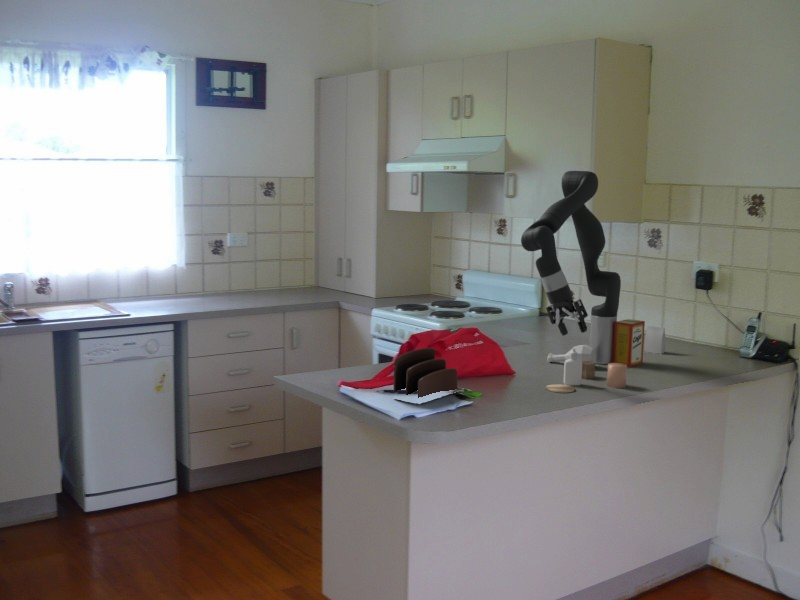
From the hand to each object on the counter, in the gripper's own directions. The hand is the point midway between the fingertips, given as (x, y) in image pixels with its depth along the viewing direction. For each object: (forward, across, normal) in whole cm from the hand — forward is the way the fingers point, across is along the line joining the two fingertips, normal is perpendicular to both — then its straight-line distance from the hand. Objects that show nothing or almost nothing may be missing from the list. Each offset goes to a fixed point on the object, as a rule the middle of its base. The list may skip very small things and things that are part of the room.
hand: (574, 333), depth 279 cm
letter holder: (-2, +19, +50) cm, 53 cm away
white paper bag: (+32, +27, -61) cm, 74 cm away
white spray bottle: (+18, +27, -18) cm, 37 cm away
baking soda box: (+26, +18, -36) cm, 48 cm away
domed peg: (+22, -2, -6) cm, 23 cm away
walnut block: (+18, +12, -8) cm, 24 cm away
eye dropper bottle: (+16, +7, +3) cm, 18 cm away
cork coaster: (+14, +4, +11) cm, 19 cm away
